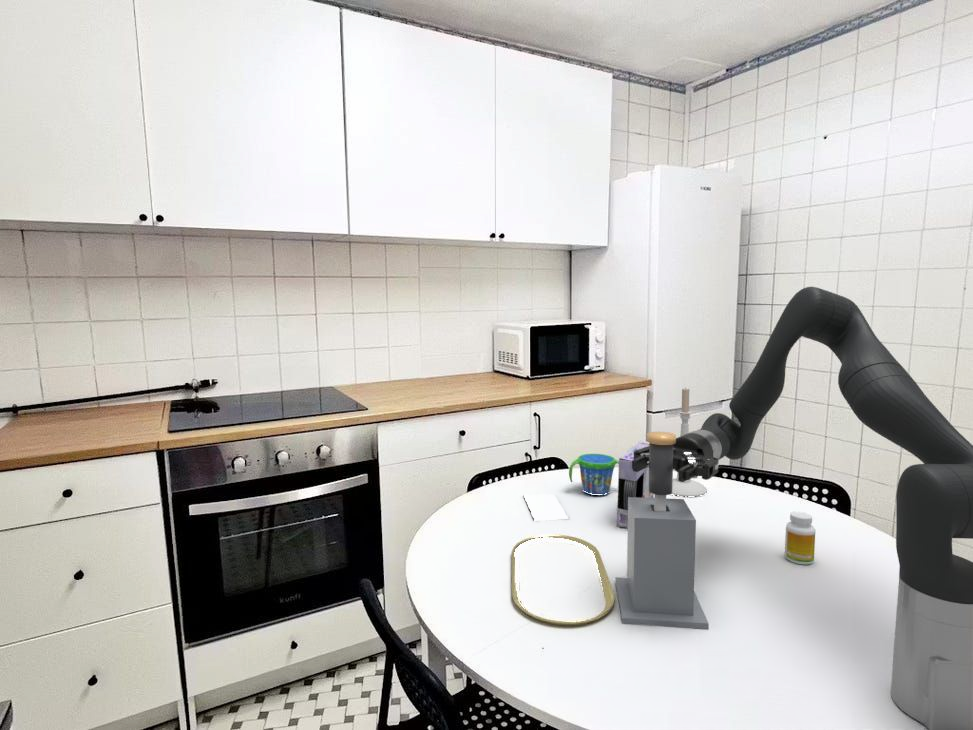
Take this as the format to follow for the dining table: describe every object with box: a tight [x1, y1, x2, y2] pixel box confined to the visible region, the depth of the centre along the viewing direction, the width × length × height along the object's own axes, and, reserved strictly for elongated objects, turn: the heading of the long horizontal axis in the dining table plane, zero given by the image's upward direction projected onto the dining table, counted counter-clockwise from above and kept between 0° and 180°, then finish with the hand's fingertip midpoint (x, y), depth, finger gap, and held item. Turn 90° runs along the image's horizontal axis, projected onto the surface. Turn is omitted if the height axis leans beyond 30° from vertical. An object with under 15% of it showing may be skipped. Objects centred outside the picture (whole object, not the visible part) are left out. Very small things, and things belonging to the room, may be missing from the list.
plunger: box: [646, 431, 677, 511], centre depth 97 cm, size 5×5×27 cm
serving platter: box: [511, 534, 616, 627], centre depth 110 cm, size 19×35×2 cm, turn 178°
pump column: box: [614, 497, 710, 630], centre depth 98 cm, size 14×14×18 cm
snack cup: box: [568, 453, 619, 494], centre depth 157 cm, size 16×10×10 cm
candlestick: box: [672, 387, 708, 497], centre depth 157 cm, size 13×13×30 cm
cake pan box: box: [616, 440, 654, 529], centre depth 139 cm, size 19×5×18 cm, turn 148°
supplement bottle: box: [784, 511, 816, 565], centre depth 115 cm, size 5×5×10 cm
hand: (656, 471), depth 96 cm, fingers open, 8 cm apart
